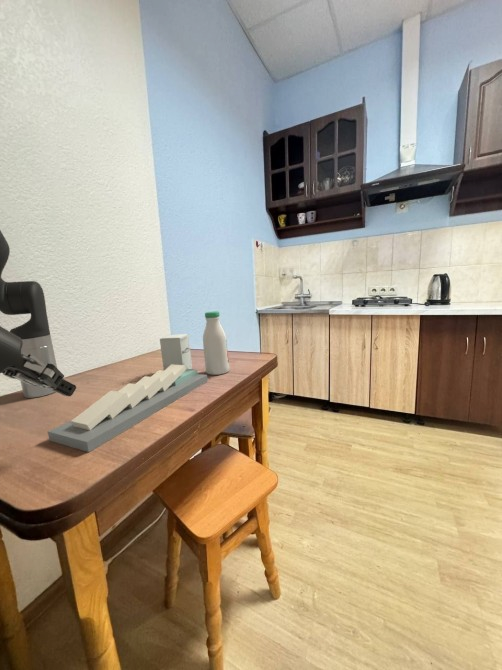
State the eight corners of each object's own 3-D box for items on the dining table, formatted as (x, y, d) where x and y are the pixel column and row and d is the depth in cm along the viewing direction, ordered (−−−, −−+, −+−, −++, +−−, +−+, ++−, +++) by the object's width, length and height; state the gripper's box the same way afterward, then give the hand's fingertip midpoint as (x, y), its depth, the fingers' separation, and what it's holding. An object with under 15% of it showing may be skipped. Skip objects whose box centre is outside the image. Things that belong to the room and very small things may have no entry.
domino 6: (175, 380, 76) (196, 369, 84) (161, 379, 78) (183, 368, 87) (175, 385, 76) (197, 374, 85) (161, 384, 78) (184, 373, 87)
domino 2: (109, 413, 58) (143, 385, 66) (93, 410, 60) (128, 383, 68) (112, 418, 58) (145, 389, 66) (96, 415, 60) (130, 388, 68)
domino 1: (87, 424, 53) (126, 392, 61) (70, 421, 55) (110, 390, 63) (90, 430, 54) (128, 397, 62) (74, 426, 56) (113, 395, 64)
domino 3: (130, 403, 62) (159, 377, 70) (114, 400, 64) (144, 376, 72) (132, 408, 63) (161, 382, 71) (117, 405, 65) (146, 380, 73)
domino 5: (162, 387, 71) (184, 365, 79) (148, 385, 73) (171, 364, 81) (164, 391, 72) (186, 369, 80) (150, 389, 74) (172, 368, 82)
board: (49, 440, 55) (47, 431, 55) (176, 378, 89) (175, 372, 88) (88, 452, 50) (87, 442, 50) (207, 381, 84) (207, 374, 83)
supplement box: (184, 375, 91) (179, 337, 89) (163, 375, 93) (158, 338, 91) (193, 368, 99) (189, 333, 96) (173, 368, 100) (169, 334, 98)
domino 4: (147, 394, 67) (172, 371, 75) (132, 392, 69) (158, 370, 77) (149, 399, 67) (174, 375, 75) (134, 397, 69) (160, 374, 77)
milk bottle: (228, 374, 88) (222, 312, 85) (204, 376, 89) (197, 314, 85) (230, 367, 96) (225, 310, 93) (208, 369, 96) (202, 311, 93)
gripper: (13, 320, 39) (105, 376, 52) (-31, 321, 45) (62, 371, 58) (-27, 367, 35) (83, 415, 48) (-70, 362, 41) (39, 406, 54)
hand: (71, 391), depth 53 cm, fingers closed
